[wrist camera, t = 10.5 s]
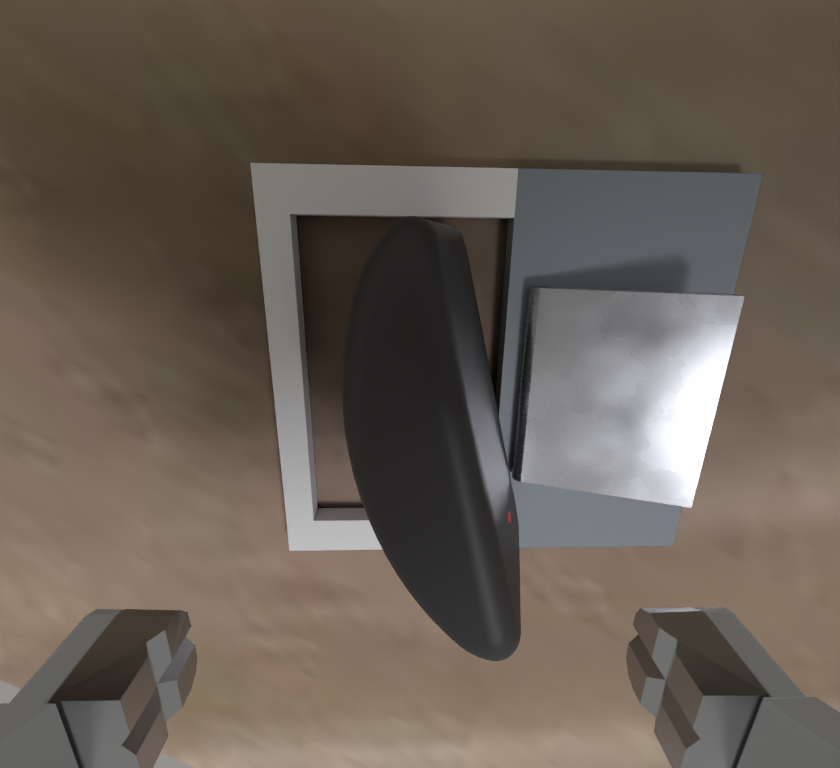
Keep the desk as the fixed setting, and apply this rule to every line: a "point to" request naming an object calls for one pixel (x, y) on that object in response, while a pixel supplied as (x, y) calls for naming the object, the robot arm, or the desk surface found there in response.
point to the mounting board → (524, 266)
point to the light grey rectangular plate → (621, 389)
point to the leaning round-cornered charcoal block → (432, 436)
